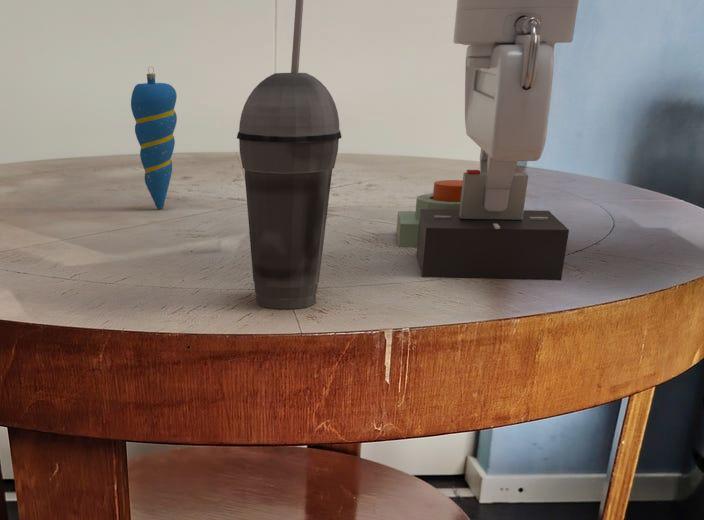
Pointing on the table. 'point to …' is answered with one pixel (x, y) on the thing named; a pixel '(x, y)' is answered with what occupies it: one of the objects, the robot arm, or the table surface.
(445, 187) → the button
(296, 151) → the beverage cup
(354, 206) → the table surface
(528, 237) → the block
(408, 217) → the housing
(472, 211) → the knob
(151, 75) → the ornament
